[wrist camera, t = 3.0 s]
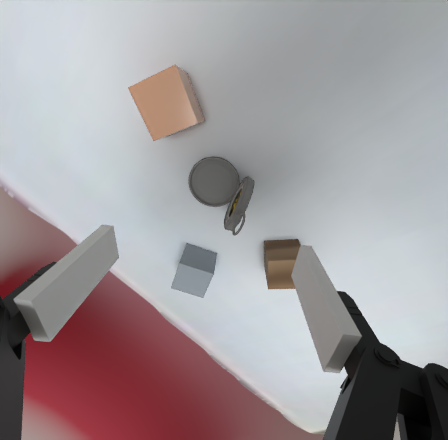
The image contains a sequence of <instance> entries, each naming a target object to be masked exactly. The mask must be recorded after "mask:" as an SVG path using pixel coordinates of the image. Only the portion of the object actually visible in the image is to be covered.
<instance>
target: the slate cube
mask: <svg viewBox="0 0 448 440" xmlns="http://www.w3.org/2000/svg"><path fill="white" fill-rule="evenodd" d="M216 256H217V253H215V252H212V251H209V250H206V249H203V248H200V247H197V246H194V245H191V244H188V243H187V245H186V247H185V250H184V252H183V255H182V258H181V260H180V263H179V265H178V268H177V271H176V274H175V277H174V280H173V283H172V286H171V288H173V289H176V290H179V291H182V292H186V293H189V294H192V295H195V296H199V297H202V298H203V297H204V295H205V293H206V290H207V288H208V286H209V284H210V281H211V279H212V277H213V275H214V269H215V263H216Z"/></svg>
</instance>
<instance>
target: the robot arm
mask: <svg viewBox="0 0 448 440" xmlns="http://www.w3.org/2000/svg"><path fill="white" fill-rule="evenodd" d="M118 258H119V255H118V249H117V244H116V238H115V232H114V226H110V225H102V226H100V227H99V228H98V229H97V230H96V231H94V232H93V233H92V234H91V235H90V236H88V237H87V238H86V239H85V240H84V241H82V242H81V243H80V244H79V245H78V246H77V247H75V248H74V249H73V250H72V251H70V253H68V254H67V255H66V256H65V257H63V258H62V259H61V260H60V261H58V262H53V263H51V264H49V265H47V266H45V267H43V268H41V269H40V270H39V271H38V272H36V273H35V274H34V276H31V277H30V278H29V279H28V280H27V281H25V282H24V283H23V284H21V285H20V286H19V287H18V288H16V289H15V290H14V291H13V292H11V293H10V294H9V295H8V296H6V297H5V298H4V299H2V298H1V296H0V440H21V431H22V411H23V390H24V370H25V351H26V343H25V340H24V339H25V337H26V336H27V335H28V334H29V333H31V335H32V337H33V338H34V340H37V341H46V342H51V340H52V339H53V338H54V337H55V335H56V334H57V333H58V332H59V331H60V329H61V328H62V327H63V326H64V324H65V323H66V322H67V321H68V319H69V318H70V317H71V316H72V314H73V313H74V312H75V311H76V310H77V308H78V307H79V306H80V304H81V303H82V302H83V301H84V300H85V298H86V297H87V296H88V295H89V293H90V292H91V291H92V290H93V289H94V288H95V286H96V285H97V284H98V283H99V281H100V280H101V279H102V278H103V276H104V275H105V274H106V273H107V272H108V270H109V269H110V268H111V267H112V265H113V264H114V263H115V262H116V261H117V259H118ZM291 276H292V279H293V282H294V285H295V288H296V291H297V294H298V297H299V300H300V303H301V306H302V309H303V312H304V315H305V318H306V321H307V324H308V327H309V330H310V333H311V336H312V339H313V342H314V345H315V348H316V351H317V354H318V357H319V360H320V363H321V366H322V369H323V372H333V373H340V372H341V370H342V368H343V367H345V369H346V372H347V374H348V376H347V377H346V379H345V380H344V382H343V384H342V385H341V387H340V388H342V390H341V392H340V395H339V398H338V400H337V403H336V406H335V408H334V411H333V414H332V416H331V419H330V421H329V424H328V427H327V429H326V432H325V435H324V437H323V440H393V437H394V431H395V424H396V417H398V424H399V431H400V438H401V440H448V369H447V368H445V367H443V366H441V365H438V364H435V363H428V364H427V365H426V366H425V367H424V368H420V367H417V366H415V365H412V364H410V363H407V362H405V361H402V360H400V358H399V356H398V355H397V354H396V353H395V352H394V351H393V350H391V349H390V348H389V347H387V346H386V345H384V344H381V343H380V342H379V340H378V339H377V337H376V336H375V334H374V332H373V331H372V329H371V328H370V326H369V324H368V323H367V321H366V320H365V318H364V316H362V313H361V311H360V310H359V309H358V307H357V305H356V303H355V302H354V300H353V299H352V298H351V297H350V296H349V295H348V294H347V293H346V292H341V291H336V289H335V287H334V286H333V284H332V282H331V280H330V278H329V277H328V275H327V273H326V271H325V270H324V268H323V266H322V264H321V262H320V261H319V259H318V257H317V255H316V253H315V252H314V250H313V248H312V246H304V245H300V248H299V252H298V255H297V258H296V262H295V265H294V268H293V272H292V275H291Z"/></svg>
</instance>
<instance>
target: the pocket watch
mask: <svg viewBox="0 0 448 440" xmlns="http://www.w3.org/2000/svg"><path fill="white" fill-rule="evenodd" d="M189 187H190V190H191V193H192V194H193V196H194V197H195V198H196V199H197V200H198V201H199V202H200V203H202V204H204V205H207V206H211V207H219V206H223V205H225V204H227V203H229V202H230V201H231V202H230V204H229V207H228V209H227V212H226V215H225V219H224V227H225V229H227V230H232V232H233V235H237V234H238V233H239V232H240V230H241V229H242V227H243V225H244V222H245V213H244V212H245V211H246V209H247V207H248V204H249V201H250V198H251V195H252V193H253V188H254V180H252V179H251V178H250V177H246V178H245V179H243V180H242V182H241V183H240V184H239V177H238V174H237V172H236V169H235V168H234V167H233V166H232V164H230V163H229V162H228V161H226V160H224V159H222V158H218V157H210V158H205V159H202V160H201V161H199V162H198V163H197V164H195V165H194V167H193V168H192V170H191V172H190V175H189ZM242 216H243V221H242V224H241V226H240V228H239V230H238V231H237V232H236V233H235V227H236V226H237V225H238V224H239V223H240V221H241V218H242Z"/></svg>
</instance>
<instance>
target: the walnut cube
mask: <svg viewBox="0 0 448 440" xmlns="http://www.w3.org/2000/svg"><path fill="white" fill-rule="evenodd" d="M299 248H300V243H299V240H298V239H294V240H271V241H264V267H265V273H266V279H267V285H268V289H296V288H295V285H294V282H293V279H292V276H291V275H292V272H293V268H294V265H295V262H296V258H297V255H298V252H299Z"/></svg>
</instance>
